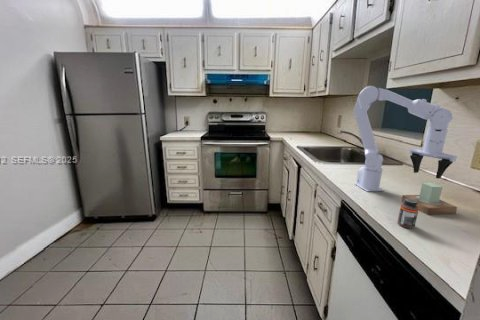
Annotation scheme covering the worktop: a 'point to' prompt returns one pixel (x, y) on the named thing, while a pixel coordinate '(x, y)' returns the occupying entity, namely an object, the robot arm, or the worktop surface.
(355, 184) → the robot arm
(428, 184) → the sage block
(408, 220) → the supplement bottle
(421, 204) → the walnut base
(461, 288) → the worktop surface
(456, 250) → the worktop surface
